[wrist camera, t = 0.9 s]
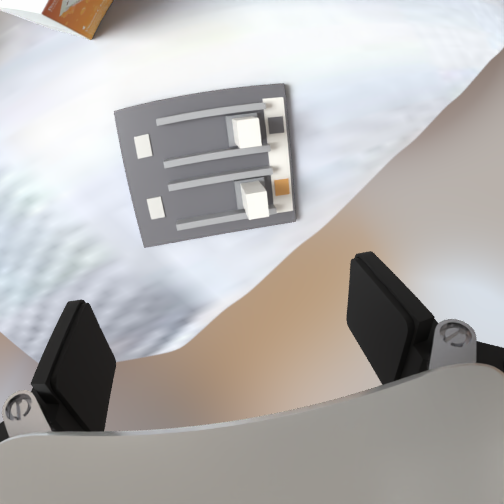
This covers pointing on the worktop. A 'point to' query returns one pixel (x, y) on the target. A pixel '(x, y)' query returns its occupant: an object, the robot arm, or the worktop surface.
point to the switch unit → (204, 163)
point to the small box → (61, 14)
